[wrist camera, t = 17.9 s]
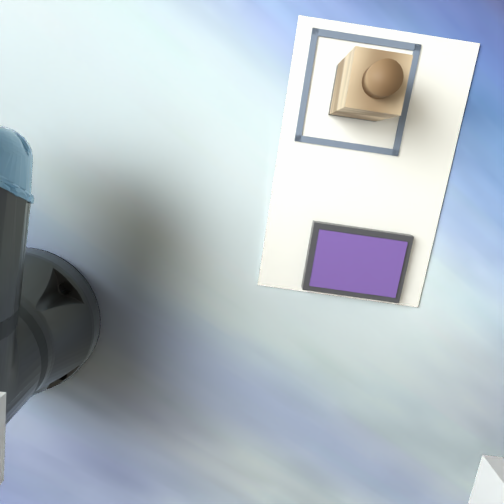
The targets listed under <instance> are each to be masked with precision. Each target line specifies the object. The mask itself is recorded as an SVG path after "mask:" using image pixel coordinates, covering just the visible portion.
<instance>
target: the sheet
mask: <svg viewBox="0 0 504 504" xmlns="http://www.w3.org/2000/svg"><path fill="white" fill-rule="evenodd" d="M355 46H359V47H365V48H371V49H378V50H384V51H391V52H397V53H404V54H410V55H413V59H412V64H411V68H410V73H409V78H408V83H407V88H406V93H405V97H404V102H403V107H402V112H401V116H397V117H392V118H388V119H384V120H380V121H376V122H372V121H366V120H359V119H353V118H346V117H339V116H333V115H328V113H329V108H330V102H331V96H332V90H333V84H334V79H335V73H336V67H337V65H338V64H339V63H340V62H341V60H342V59H343V58H344V57H345V56H346V55H347V54H348V53H349V52H350V51H351V50H352V49H353V48H354V47H355ZM479 46H480V43H473V42H467V41H460V40H454V39H448V38H441V37H435V36H428V35H422V34H416V33H409V32H403V31H397V30H390V29H384V28H377V27H371V26H365V25H358V24H352V23H345V22H339V21H333V20H326V19H320V18H314V17H307V16H301V15H299V17H298V24H297V30H296V37H295V43H294V50H293V56H292V63H291V69H290V76H289V82H288V89H287V96H286V102H285V109H284V115H283V122H282V128H281V135H280V141H279V148H278V154H277V161H276V167H275V174H274V180H273V187H272V194H271V200H270V207H269V213H268V220H267V226H266V233H265V239H264V246H263V252H262V259H261V265H260V272H259V278H258V285H261V286H269V287H276V288H283V289H290V290H297V291H304V292H312V293H319V294H326V295H333V296H340V297H347V298H355V299H362V300H369V301H376V302H383V303H390V304H398V305H405V306H412V307H418V304H419V300H420V296H421V292H422V288H423V283H424V279H425V275H426V271H427V266H428V262H429V258H430V254H431V249H432V245H433V241H434V237H435V232H436V228H437V224H438V220H439V216H440V211H441V207H442V203H443V199H444V194H445V190H446V186H447V182H448V177H449V173H450V169H451V165H452V161H453V156H454V152H455V148H456V144H457V139H458V135H459V131H460V127H461V122H462V118H463V114H464V110H465V105H466V101H467V97H468V93H469V89H470V84H471V80H472V76H473V72H474V67H475V63H476V59H477V55H478V50H479ZM313 220H314V221H321V222H328V223H334V224H341V225H348V226H355V227H362V228H369V229H376V230H383V231H390V232H397V233H404V234H410V235H412V236H414V240H413V244H412V248H411V253H410V257H409V262H408V266H407V270H406V275H405V279H404V284H403V288H402V293H401V297H400V301H399V303H393V302H386V301H379V300H372V299H364V298H357V297H350V296H343V295H336V294H329V293H321V292H314V291H307V290H302V287H301V284H302V279H303V273H304V267H305V262H306V256H307V250H308V244H309V239H310V233H311V227H312V222H313Z"/></svg>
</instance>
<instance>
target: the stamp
mask: <svg viewBox="0 0 504 504" xmlns="http://www.w3.org/2000/svg"><path fill="white" fill-rule="evenodd" d="M412 59H413V55H410V54H404V53H397V52H391V51H384V50H378V49H371V48H365V47H359V46H355V47H354V48H353V49H352V50H351V51H350V52H349V53H348V54H347V55H346V56H345V57H344V58H343V59H342V60H341V62H340V63H339V64H338V65H337V67H336V73H335V79H334V84H333V90H332V96H331V102H330V108H329V113H328V115H333V116H339V117H346V118H353V119H359V120H366V121H372V122H376V121H380V120H384V119H388V118H392V117H397V116H401V112H402V107H403V102H404V97H405V93H406V88H407V83H408V78H409V73H410V68H411V64H412Z"/></svg>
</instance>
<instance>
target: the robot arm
mask: <svg viewBox="0 0 504 504" xmlns="http://www.w3.org/2000/svg"><path fill="white" fill-rule="evenodd" d="M32 164H33V155H32V150H31V148H30V146H29V144H28V142H27V141H26V140H25V139H24V137H22V136H21V135H20V134H19V133H17V132H16V131H14V130H12V129H9V128H7V127H3V126H0V485H1V483H2V482H3V481H4V457H5V425H6V424H7V423H8V422H9V421H10V420H11V419H12V417H13V416H14V415H15V414H16V413H17V412H18V411H19V410H20V408H21V407H22V406H23V405H24V404H25V403H26V402H27V401H28V400H29V398H30V397H31V396H32V395H35V394H37V393H39V392H42V391H44V390H46V389H48V388H51V387H54V386H56V385H58V384H60V383H62V382H64V381H65V380H67V379H68V378H69V377H71V376H72V375H73V374H74V373H75V372H76V371H77V370H78V369H79V368H80V367H81V366H82V365H83V363H84V362H85V361H86V360H87V358H88V357H89V356H90V354H91V353H92V351H93V349H94V347H95V345H96V342H97V339H98V336H99V331H100V313H99V307H98V304H97V300H96V298H95V295H94V293H93V291H92V289H91V287H90V286H89V284H88V282H87V281H86V280H85V278H84V277H83V276H82V275H81V274H80V273H79V272H78V271H77V270H76V269H75V268H74V267H73V266H72V265H70V264H69V263H68V262H66V261H65V260H63V259H62V258H60V257H58V256H56V255H54V254H52V253H49V252H46V251H43V250H39V249H35V248H27V247H26V243H27V233H28V224H29V214H30V204H31V203H33V202H34V197H33V195H32V194H31V183H32ZM468 504H504V457H497V456H489V455H482V457H481V461H480V464H479V468H478V471H477V475H476V478H475V482H474V485H473V488H472V492H471V495H470V499H469V502H468Z"/></svg>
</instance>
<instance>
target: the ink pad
mask: <svg viewBox="0 0 504 504" xmlns="http://www.w3.org/2000/svg"><path fill="white" fill-rule="evenodd" d="M413 240H414V236H412V235H410V234H404V233H397V232H390V231H383V230H376V229H369V228H362V227H355V226H348V225H341V224H334V223H328V222H321V221H314V220H313V222H312V227H311V233H310V239H309V244H308V250H307V256H306V262H305V267H304V273H303V279H302V284H301V287H302V290H307V291H314V292H321V293H329V294H336V295H343V296H350V297H357V298H364V299H372V300H379V301H386V302H393V303H399V301H400V297H401V293H402V288H403V284H404V279H405V275H406V270H407V266H408V262H409V257H410V253H411V248H412V244H413Z"/></svg>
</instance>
